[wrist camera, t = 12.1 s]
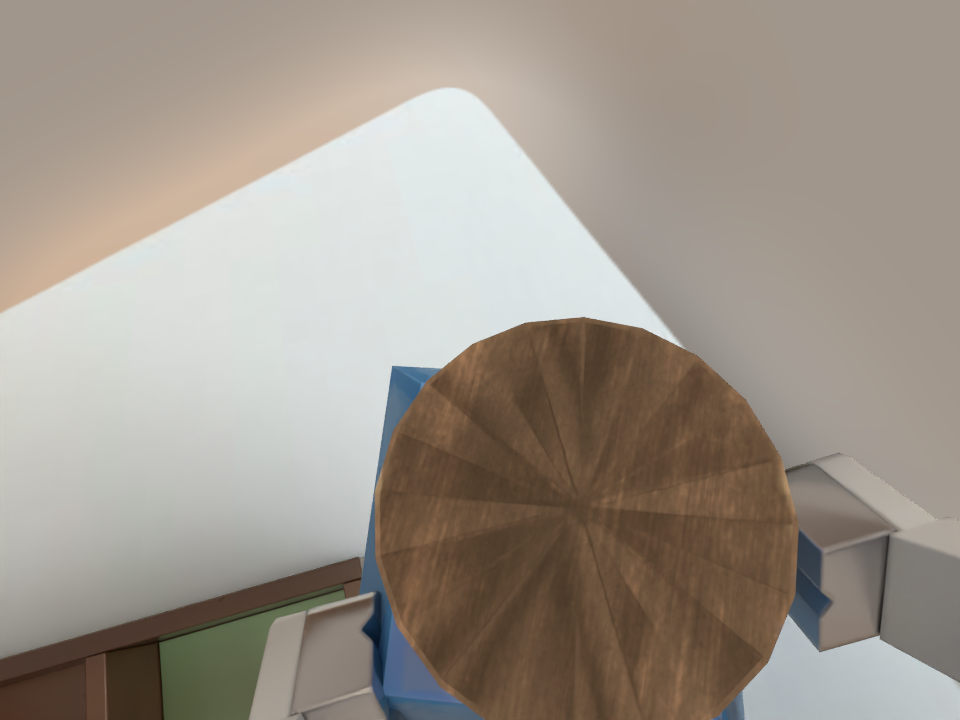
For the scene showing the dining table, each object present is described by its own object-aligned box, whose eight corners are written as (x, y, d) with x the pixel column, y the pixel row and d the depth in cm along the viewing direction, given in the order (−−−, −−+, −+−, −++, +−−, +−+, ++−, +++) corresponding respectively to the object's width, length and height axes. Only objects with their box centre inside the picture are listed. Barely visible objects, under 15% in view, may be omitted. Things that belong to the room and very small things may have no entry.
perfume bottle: (435, 438, 17) (271, 163, 6) (649, 452, 16) (935, 180, 5) (409, 674, 15) (58, 986, 3) (654, 700, 14) (1173, 1169, 3)
